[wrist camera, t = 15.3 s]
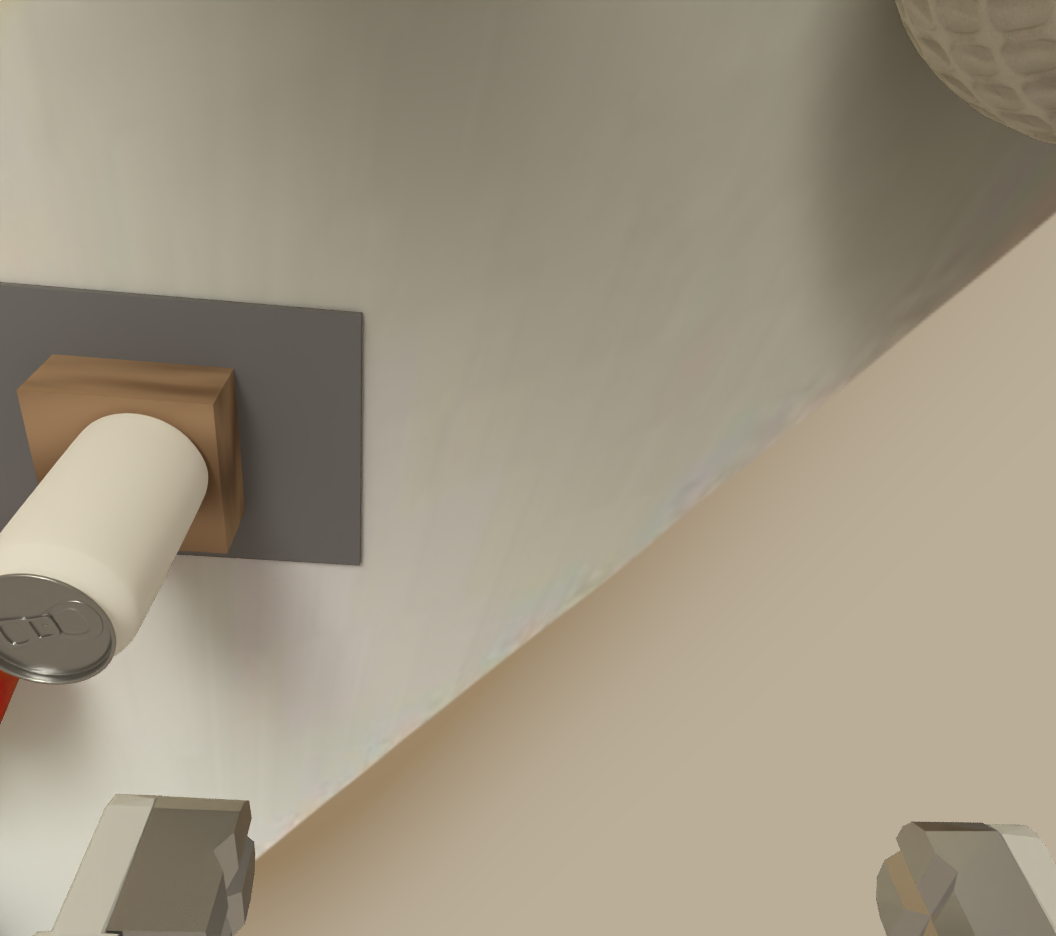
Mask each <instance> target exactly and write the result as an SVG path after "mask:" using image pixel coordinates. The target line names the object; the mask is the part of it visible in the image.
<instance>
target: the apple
mask: <svg viewBox="0 0 1056 936" xmlns="http://www.w3.org/2000/svg"><path fill="white" fill-rule="evenodd" d="M18 680H19V678H18V677H15V676H12V675H10V674H8V673H6V672H4V671H2V670H0V723H1V721H2V719H3V716H4V714H5V711H6V709H7V707H8V704H9V702H10V699H11V697H12V695H13V692H14V690H15V687H16V685H17V682H18Z"/></svg>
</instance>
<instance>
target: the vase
mask: <svg viewBox="0 0 1056 936" xmlns="http://www.w3.org/2000/svg"><path fill="white" fill-rule="evenodd" d="M895 2H896V5H897V8H898V11H899V14H900V17H901V20H902V23H903V25H904V28H905V30H906V32H907V33H908V35H909V37H910V39H911V41H912V43H913V44H914V46H915V48H916V50H917V52H918V53H919V55H920V56H921V58H922V59H923V60H924V61H925V62H926V64H927V65H928V66H929V67H930V68H931V70H932V71H933V72H934V73H935V74H936V76H937V77H938V78H939V79H940V80H941V81H942V82H943V83H944V84H945V85H946V86H948V87H949V88H950V89H951V90H952V91H953V92H954V93H955V94H956V95H957V96H959V97H960V98H961V99H962V100H964V101H965V102H966V103H967V104H969V105H970V106H971V107H973V108H974V109H975V110H976V111H978V112H979V113H980V114H982V115H984V116H986V117H988V118H990V119H992V120H994V121H996V122H998V123H1000V124H1002V125H1004V126H1006V127H1008V128H1010V129H1013V130H1015V131H1017V132H1020V133H1022V134H1024V135H1027V136H1029V137H1031V138H1034V139H1036V140H1040V141H1044V142H1047V143H1051V144H1055V145H1056V0H895Z"/></svg>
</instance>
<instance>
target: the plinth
mask: <svg viewBox="0 0 1056 936" xmlns="http://www.w3.org/2000/svg"><path fill="white" fill-rule="evenodd" d="M16 391H17V395H18V399H19V404H20V408H21V412H22V417H23V421H24V425H25V430H26V434H27V439H28V443H29V447H30V452H31V456H32V460H33V465H34V469H35V473H36V478H37V482H38V485H39V484H40V482H41V481H42V480H43V479H44V477H45V476H46V475H47V474H48V472H49V471H50V470H51V469H52V467H53V466H54V465H55V464H56V462H57V461H58V460H59V459H60V457H61V456H62V455H63V454H64V452H65V451H66V450H67V449H68V448H69V446H70V445H71V444H72V443H73V441H74V440H75V439H76V438H77V437H78V435H79V434H80V433H81V432H82V431H83V430H84V429H85V428H86V427H87V426H88V425H90V424H91V423H93V422H94V421H96V420H98V419H100V418H102V417H105V416H109V415H113V414H121V413H133V414H141V415H146V416H150V417H153V418H156V419H159V420H161V421H164V422H166V423H168V424H170V425H171V426H173V427H175V428H176V429H178V430H179V431H181V432H182V433H183V434H184V435H185V436H186V437H188V439H189V440H190V441H191V442H192V443H193V444H194V445H195V447H196V448H197V449H198V451H199V452H200V454H201V455H202V457H203V459H204V461H205V464H206V466H207V470H208V486H207V490H206V493H205V496H204V499H203V501H202V503H201V505H200V507H199V509H198V511H197V514H196V516H195V518H194V520H193V522H192V524H191V526H190V528H189V530H188V532H187V534H186V536H185V538H184V540H183V542H182V544H181V546H180V548H179V550H178V551H192V552H209V553H226V554H227V553H228V551H229V548H230V546H231V544H232V541H233V539H234V536H235V534H236V532H237V529H238V527H239V524H240V522H241V519H242V517H243V515H244V512H245V502H244V490H243V477H242V465H241V452H240V440H239V428H238V415H237V403H236V390H235V378H234V368H223V367H210V366H197V365H185V364H172V363H159V362H146V361H133V360H120V359H107V358H95V357H82V356H69V355H56V354H52V355H51V356H50V357H49V358H48V359H47V360H46V361H45V362H44V363H43V364H42V365H41V366H40V367H39V368H38V369H37V370H36V371H35V372H34V373H33V374H32V375H31V376H30V377H29V378H28V379H27V380H26V381H25V382H24V383H23V384H22V385H21V386H20V387H19V388H18V389H17V390H16Z"/></svg>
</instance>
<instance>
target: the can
mask: <svg viewBox="0 0 1056 936" xmlns="http://www.w3.org/2000/svg"><path fill="white" fill-rule="evenodd" d="M207 486H208V470H207V466H206V464H205V461H204V459H203V457H202V455H201V454H200V452H199V451H198V449H197V448H196V447H195V445H194V444H193V443H192V442H191V441H190V440H189V439H188V437H186V436H185V435H184V434H183V433H182V432H181V431H179V430H178V429H176V428H175V427H173V426H171V425H170V424H168V423H166V422H164V421H161V420H159V419H156V418H153V417H150V416H146V415H141V414H133V413H121V414H113V415H109V416H105V417H102V418H100V419H98V420H96V421H94V422H93V423H91V424H90V425H88V426H87V427H86V428H85V429H84V430H83V431H82V432H81V433H80V434H79V435H78V437H77V438H76V439H75V440H74V441H73V443H72V444H71V445H70V446H69V448H68V449H67V450H66V451H65V452H64V454H63V455H62V456H61V457H60V459H59V460H58V461H57V462H56V464H55V465H54V466H53V467H52V469H51V470H50V471H49V472H48V474H47V475H46V476H45V477H44V479H43V480H42V481H41V482H40V484H39V485H38V486H37V487H36V489H35V490H34V491H33V492H32V494H31V495H30V496H29V497H28V499H27V500H26V501H25V502H24V504H23V505H22V506H21V507H20V509H19V510H18V511H17V512H16V514H15V515H14V516H13V517H12V519H11V520H10V521H9V523H8V524H7V525H6V526H5V528H4V529H3V530H2V531H1V533H0V670H2V671H4V672H6V673H8V674H10V675H12V676H15V677H18V678H21V679H24V680H27V681H31V682H36V683H42V684H71V683H76V682H80V681H84V680H87V679H89V678H91V677H93V676H95V675H97V674H98V673H100V672H101V671H102V670H104V669H105V668H106V667H107V665H108V664H109V663H110V661H111V660H112V658H113V657H114V656H115V655H117V654H118V653H119V652H121V651H122V650H123V649H124V648H126V647H127V646H128V645H129V643H130V642H131V641H132V639H133V638H134V637H135V635H136V633H137V632H138V630H139V628H140V626H141V624H142V623H143V621H144V619H145V617H146V615H147V613H148V611H149V609H150V607H151V605H152V603H153V601H154V599H155V597H156V595H157V593H158V591H159V589H160V587H161V585H162V583H163V581H164V579H165V577H166V575H167V573H168V571H169V569H170V567H171V565H172V563H173V561H174V559H175V557H176V554H177V552H178V550H179V548H180V546H181V544H182V542H183V540H184V538H185V536H186V534H187V532H188V530H189V528H190V526H191V524H192V522H193V520H194V518H195V516H196V514H197V511H198V509H199V507H200V505H201V503H202V501H203V499H204V496H205V493H206V490H207Z"/></svg>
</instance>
